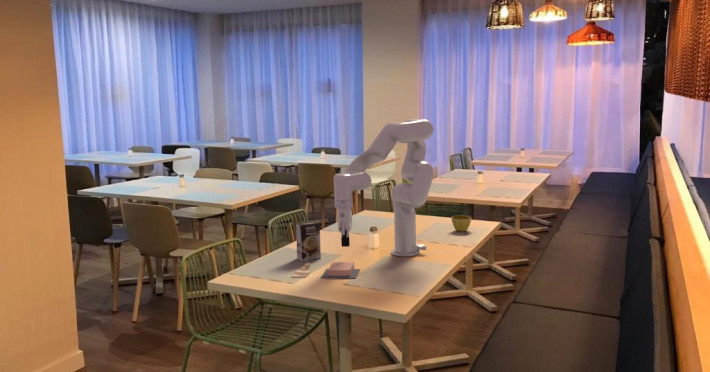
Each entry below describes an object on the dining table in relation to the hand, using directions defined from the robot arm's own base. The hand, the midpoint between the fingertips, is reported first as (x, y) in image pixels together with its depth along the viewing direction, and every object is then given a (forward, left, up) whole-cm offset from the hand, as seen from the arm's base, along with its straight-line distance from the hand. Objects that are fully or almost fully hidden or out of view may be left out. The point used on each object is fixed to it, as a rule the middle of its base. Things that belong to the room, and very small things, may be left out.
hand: (345, 246), depth 251 cm
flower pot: (-50, -64, -9) cm, 81 cm away
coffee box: (+18, -10, -9) cm, 22 cm away
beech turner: (+16, +10, -8) cm, 21 cm away
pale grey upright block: (0, +5, -7) cm, 9 cm away
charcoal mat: (0, +12, -8) cm, 15 cm away
